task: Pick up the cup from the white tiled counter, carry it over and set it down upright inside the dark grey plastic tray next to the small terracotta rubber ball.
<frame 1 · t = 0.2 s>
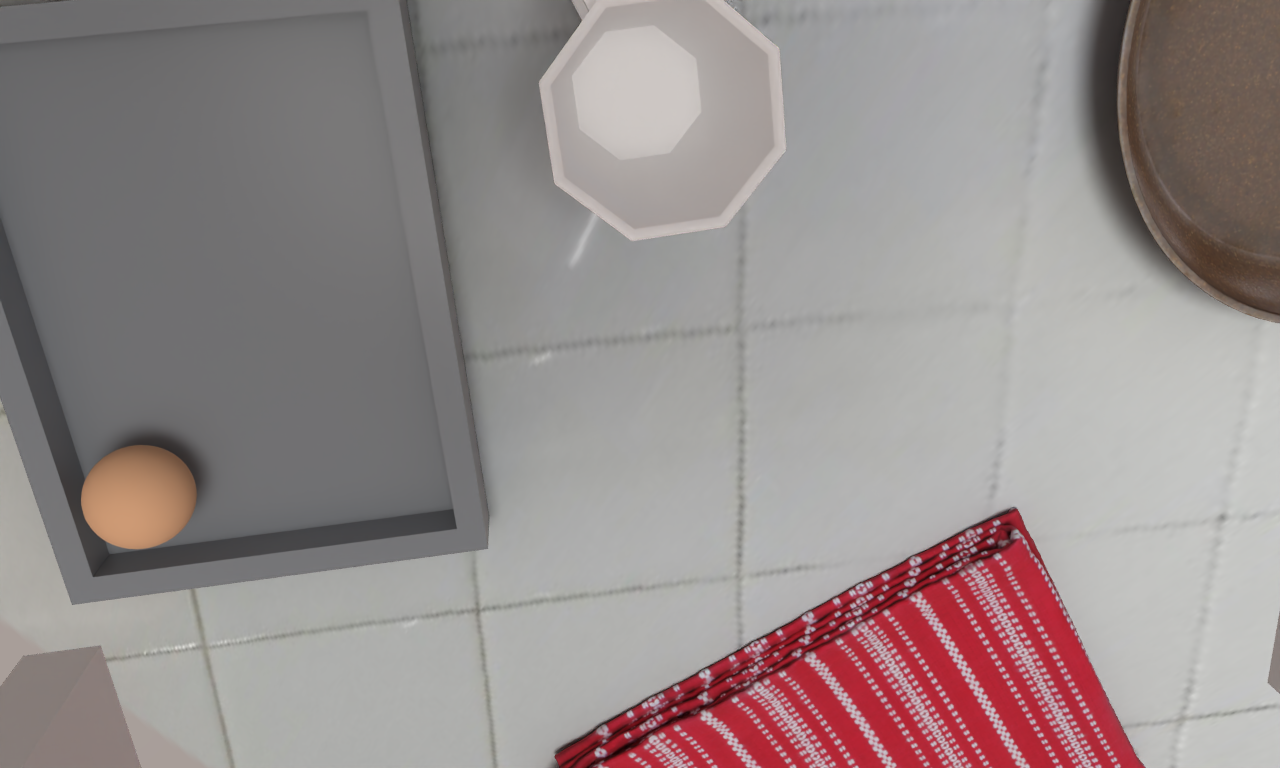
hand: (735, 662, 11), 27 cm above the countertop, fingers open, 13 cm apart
tray: (236, 297, 36), on the countertop
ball: (157, 473, 37), point 1 cm above the countertop, touching tray
cup: (610, 50, 34), on the countertop
dish towel: (844, 749, 47), on the countertop
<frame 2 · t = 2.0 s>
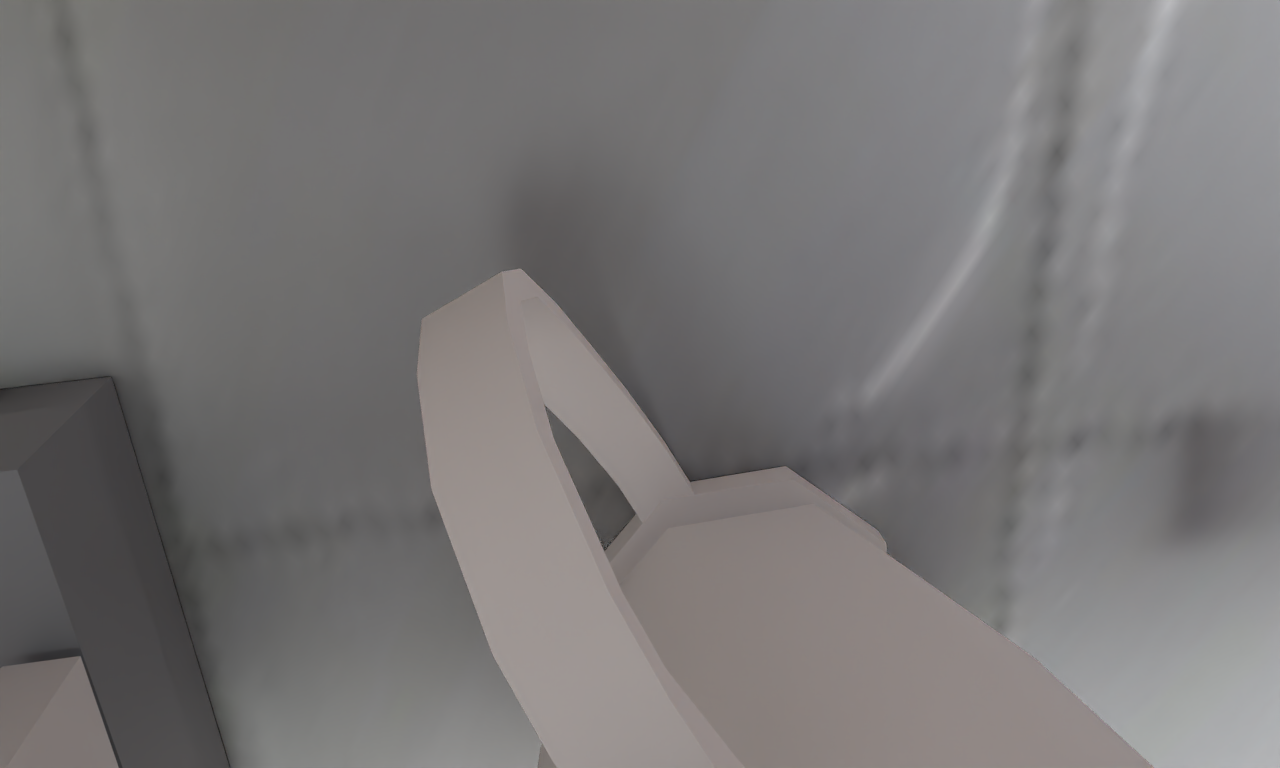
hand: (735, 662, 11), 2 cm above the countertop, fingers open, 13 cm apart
cup: (682, 520, 13), on the countertop
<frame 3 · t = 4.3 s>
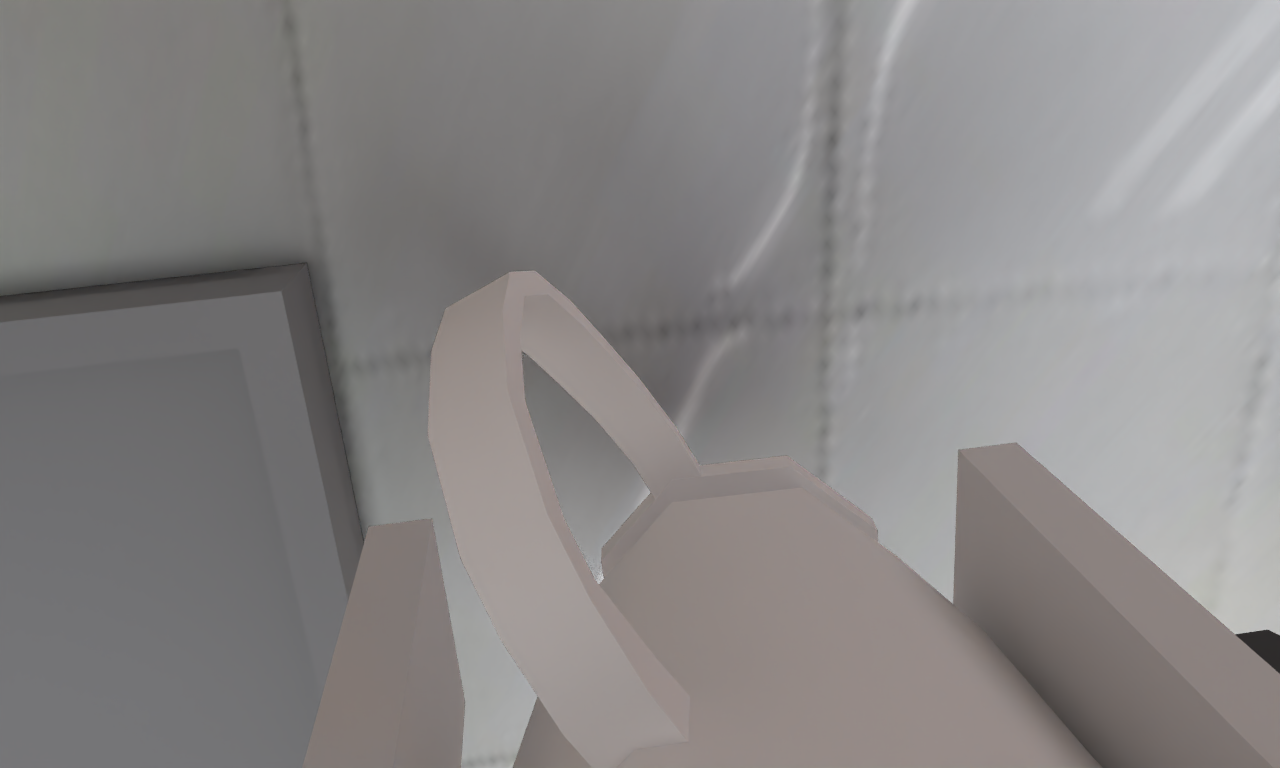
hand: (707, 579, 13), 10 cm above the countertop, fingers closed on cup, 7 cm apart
tray: (69, 710, 24), on the countertop
cup: (694, 499, 15), point 8 cm above the countertop, touching gripper
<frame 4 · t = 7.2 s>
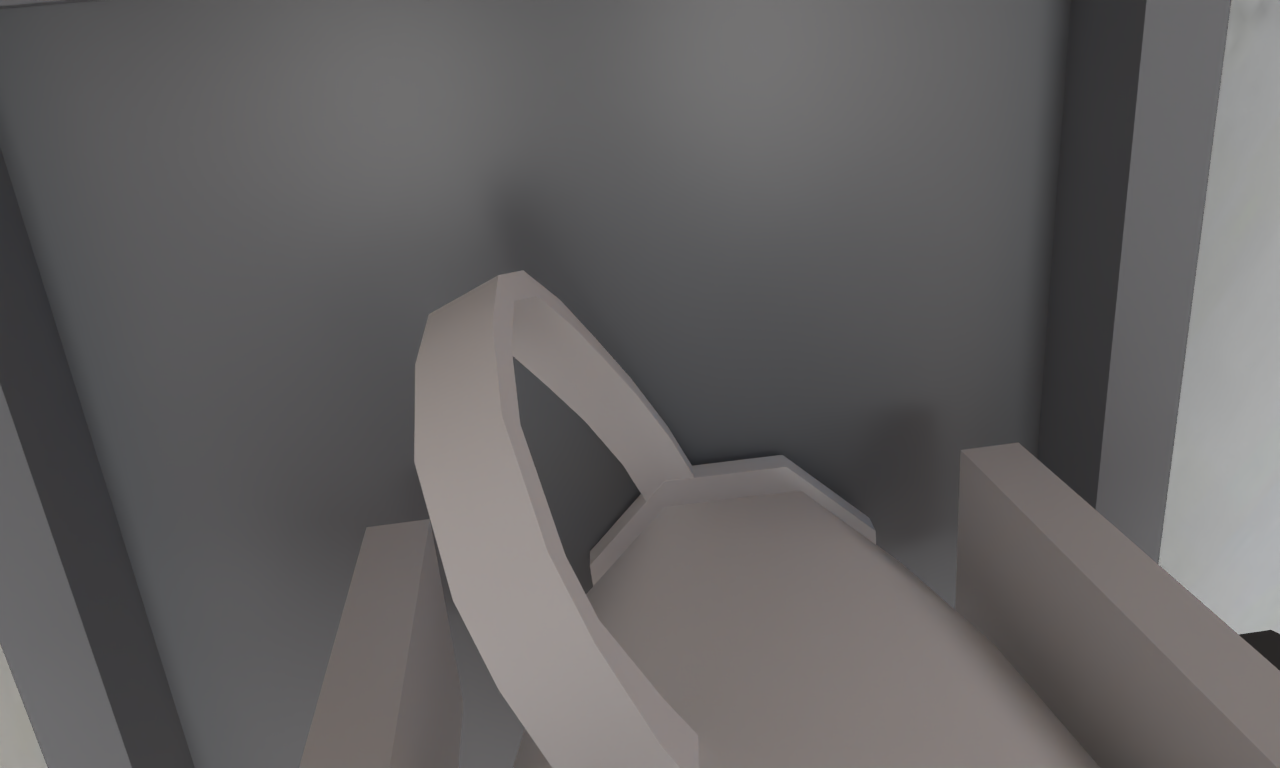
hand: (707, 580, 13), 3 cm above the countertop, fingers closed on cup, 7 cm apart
tray: (608, 584, 16), on the countertop
cup: (685, 500, 15), point 1 cm above the countertop, touching gripper, tray
when the fingers open (2 cm above the countertop, at t = 8.0 s): cup stays where it is, resting on tray.
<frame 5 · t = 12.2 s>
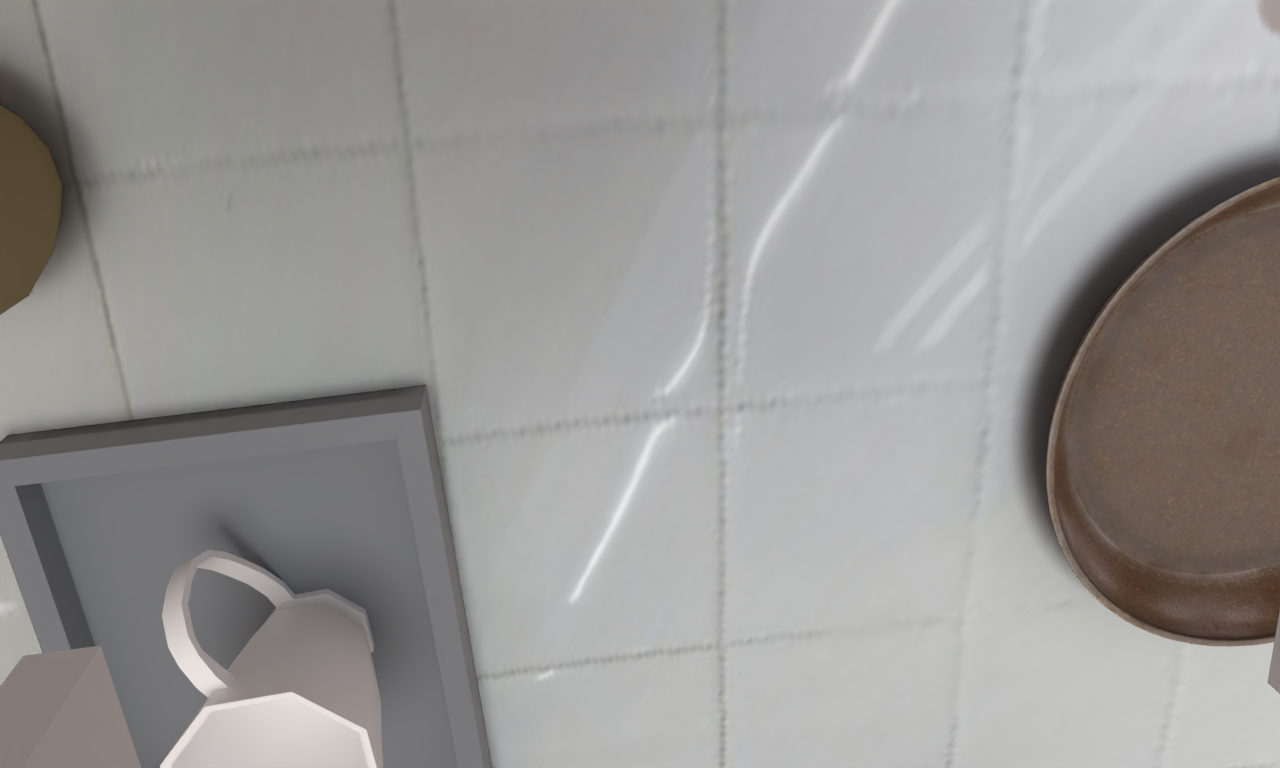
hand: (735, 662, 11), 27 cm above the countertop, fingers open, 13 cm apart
tray: (278, 638, 41), on the countertop
cup: (296, 606, 40), point 1 cm above the countertop, touching tray
plant saucer: (1246, 395, 43), on the countertop
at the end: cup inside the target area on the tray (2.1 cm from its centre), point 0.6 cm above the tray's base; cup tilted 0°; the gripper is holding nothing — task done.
